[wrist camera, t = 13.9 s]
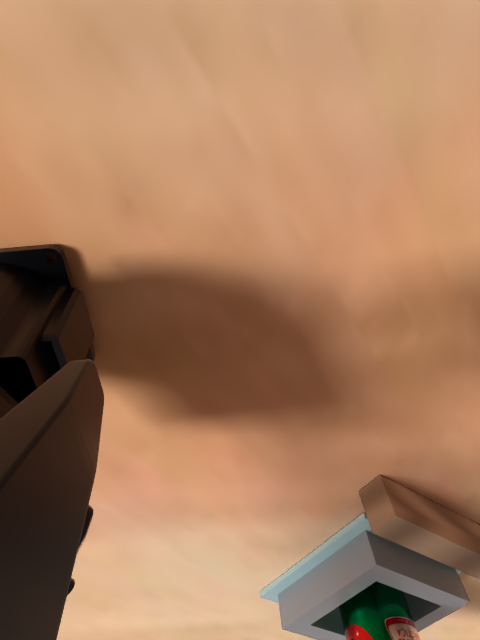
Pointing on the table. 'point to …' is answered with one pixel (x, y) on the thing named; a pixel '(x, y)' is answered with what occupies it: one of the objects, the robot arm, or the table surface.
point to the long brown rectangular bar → (422, 525)
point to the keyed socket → (361, 582)
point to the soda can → (378, 615)
